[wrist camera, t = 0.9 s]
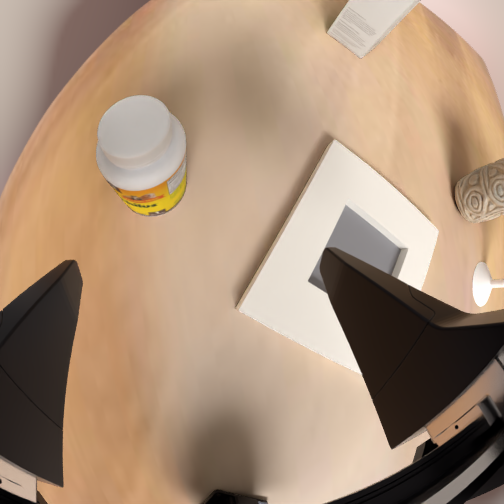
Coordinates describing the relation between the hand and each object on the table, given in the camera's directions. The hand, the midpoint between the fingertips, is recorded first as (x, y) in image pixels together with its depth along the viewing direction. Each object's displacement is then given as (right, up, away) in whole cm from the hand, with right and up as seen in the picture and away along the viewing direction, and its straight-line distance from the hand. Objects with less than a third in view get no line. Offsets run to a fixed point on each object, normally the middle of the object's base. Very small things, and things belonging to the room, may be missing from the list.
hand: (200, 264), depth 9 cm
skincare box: (+17, +32, +20) cm, 41 cm away
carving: (+31, +8, +21) cm, 39 cm away
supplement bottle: (-6, +6, +13) cm, 15 cm away
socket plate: (+12, -1, +16) cm, 19 cm away
